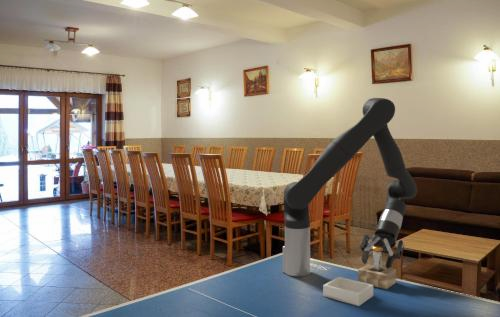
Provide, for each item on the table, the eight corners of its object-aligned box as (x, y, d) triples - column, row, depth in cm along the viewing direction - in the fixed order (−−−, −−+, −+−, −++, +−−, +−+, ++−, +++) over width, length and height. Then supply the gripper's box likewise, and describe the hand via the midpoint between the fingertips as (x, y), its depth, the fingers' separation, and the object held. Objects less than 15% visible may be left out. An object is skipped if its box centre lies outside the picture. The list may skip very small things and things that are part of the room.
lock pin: (370, 282, 142) (370, 247, 141) (374, 280, 144) (374, 245, 144) (379, 285, 140) (380, 249, 139) (383, 282, 142) (384, 246, 141)
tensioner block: (358, 282, 142) (358, 269, 142) (368, 276, 148) (368, 263, 148) (386, 289, 136) (386, 275, 135) (396, 282, 142) (396, 269, 141)
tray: (323, 296, 130) (323, 285, 130) (338, 287, 138) (338, 276, 138) (358, 306, 123) (358, 294, 122) (373, 295, 130) (373, 284, 130)
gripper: (367, 216, 151) (352, 255, 143) (406, 221, 142) (393, 263, 134) (373, 228, 155) (359, 266, 147) (412, 234, 146) (399, 275, 138)
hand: (375, 265), depth 140 cm, fingers open, 7 cm apart
